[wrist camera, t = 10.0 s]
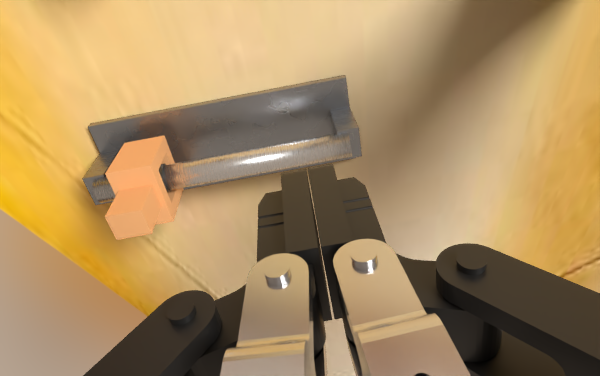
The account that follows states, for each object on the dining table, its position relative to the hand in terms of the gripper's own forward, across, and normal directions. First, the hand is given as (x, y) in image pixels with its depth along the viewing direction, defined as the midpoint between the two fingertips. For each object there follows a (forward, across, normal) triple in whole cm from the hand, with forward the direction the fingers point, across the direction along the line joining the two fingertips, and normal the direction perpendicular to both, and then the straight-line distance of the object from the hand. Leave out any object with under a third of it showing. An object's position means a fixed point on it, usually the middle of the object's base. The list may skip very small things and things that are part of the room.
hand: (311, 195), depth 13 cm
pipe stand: (+32, +8, +12) cm, 35 cm away
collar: (+29, +15, +12) cm, 35 cm away
